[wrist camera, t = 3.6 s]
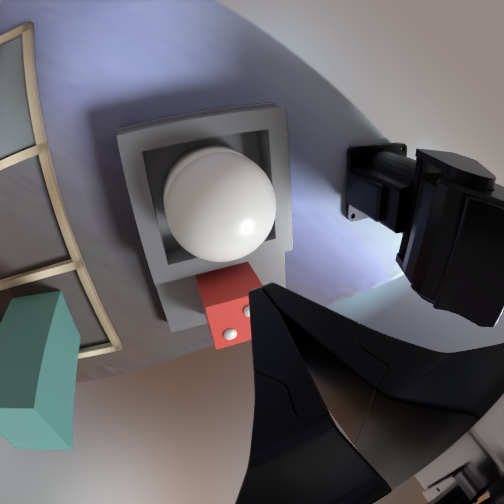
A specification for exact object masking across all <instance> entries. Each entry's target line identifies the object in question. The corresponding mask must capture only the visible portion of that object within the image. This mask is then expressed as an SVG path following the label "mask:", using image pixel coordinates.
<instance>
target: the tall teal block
mask: <svg viewBox="0 0 504 504" xmlns="http://www.w3.org/2000/svg"><path fill="white" fill-rule="evenodd" d="M80 338H81V337H80V335H79V332H78V330H77V328H76V326H75V324H74V321H73V319H72V317H71V314H70V312H69V309H68V307H67V305H66V302H65V300H64V297H63V294H62V292H61V290H60V291H54V292H48V293H41V294H35V295H29V296H22V297H16V298H12V299H11V301H10V303H9V306H8V308H7V310H6V312H5V314H4V317H3V319H2V321H1V324H0V435H1V436H2V437H3V438H5V439H6V440H7V441H8V442H9V443H10V444H11V445H12V446H13V447H15V448H25V449H44V450H73V410H74V393H75V392H74V391H75V381H76V370H77V361H78V353H79V345H80Z"/></svg>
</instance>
